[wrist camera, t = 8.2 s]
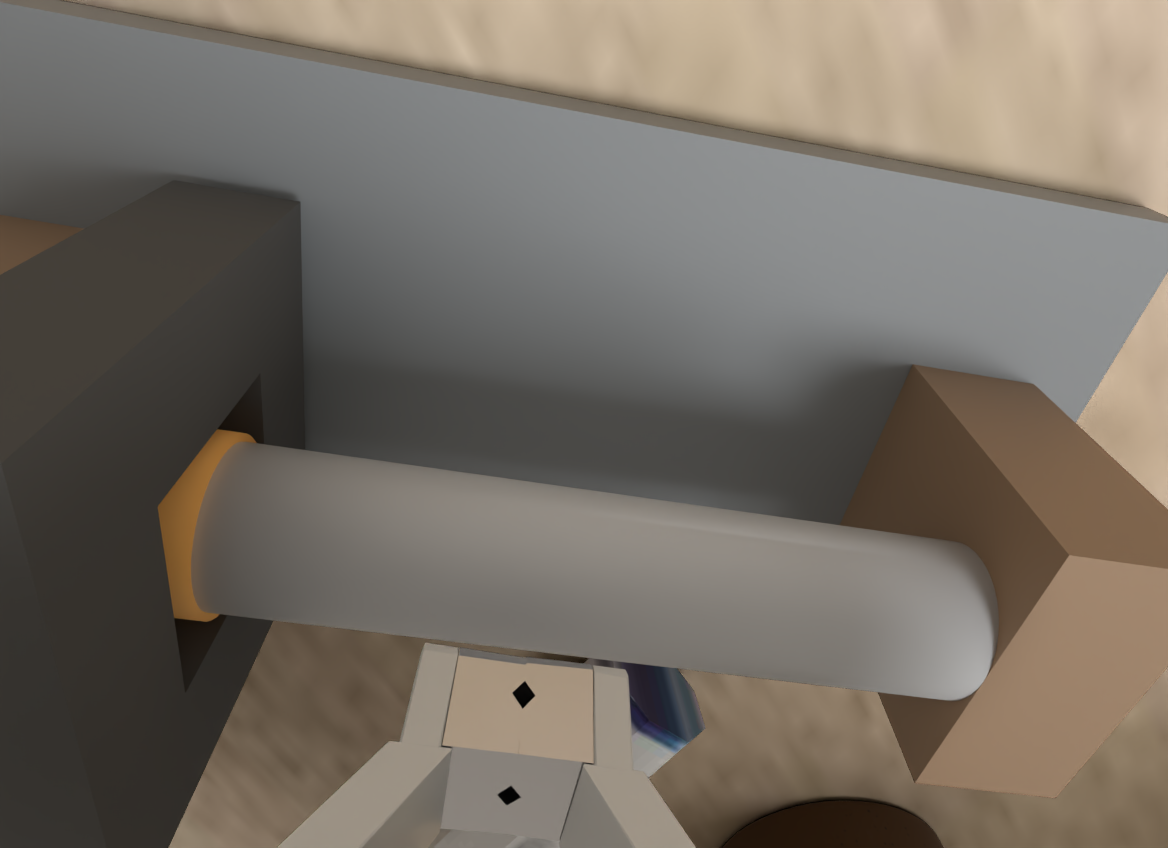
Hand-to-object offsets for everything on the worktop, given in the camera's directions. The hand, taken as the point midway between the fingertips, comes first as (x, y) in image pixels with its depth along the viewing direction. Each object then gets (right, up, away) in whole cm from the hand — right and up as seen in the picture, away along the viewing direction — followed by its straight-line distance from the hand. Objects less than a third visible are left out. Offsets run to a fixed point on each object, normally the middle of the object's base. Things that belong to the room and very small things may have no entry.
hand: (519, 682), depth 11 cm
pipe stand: (0, +5, +8) cm, 9 cm away
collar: (-7, +5, +6) cm, 10 cm away
